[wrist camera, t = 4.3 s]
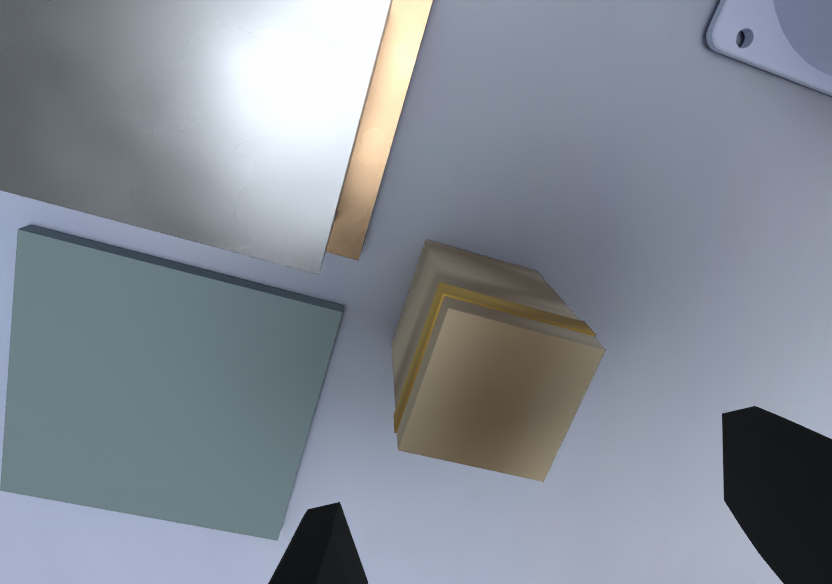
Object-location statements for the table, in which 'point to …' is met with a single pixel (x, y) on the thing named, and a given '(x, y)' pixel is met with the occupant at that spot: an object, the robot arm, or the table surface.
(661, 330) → the table surface
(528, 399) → the block
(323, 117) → the mounted unit
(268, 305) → the mat
